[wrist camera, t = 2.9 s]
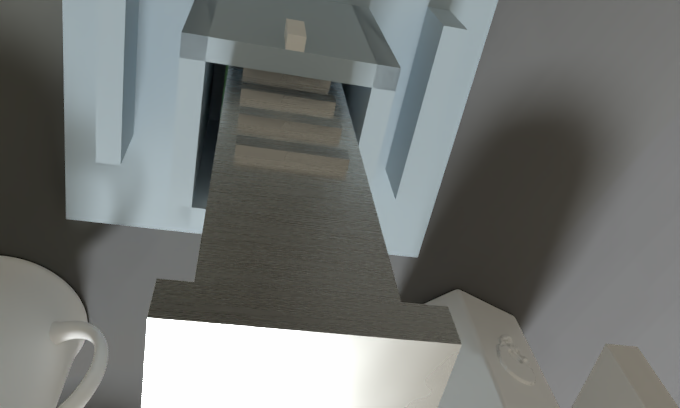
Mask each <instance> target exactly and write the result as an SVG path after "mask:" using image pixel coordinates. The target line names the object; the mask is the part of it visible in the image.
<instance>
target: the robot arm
mask: <svg viewBox="0 0 680 408" xmlns="http://www.w3.org/2000/svg"><path fill="white" fill-rule="evenodd" d="M572 408H679V407H678V406H677V404H676V403H675V401H674V400H673V398H672V397H671V396H670V394H669V393H668V391H667V390H666V388H665V387H664V385H663V384H662V382H661V381H660V379H659V378H658V376H657V375H656V374H655V372H654V371H653V369H652V368H651V366H650V365H649V363H648V362H647V360H646V359H645V357H644V356H643V354H642V353H641V351H640V350H639V349H638V347H633V346H623V345H613V344H605V346H604V348H603V350H602V352H601V354H600V356H599V358H598V359H597V361H596V363H595V365H594V367H593V369H592V371H591V372H590V374H589V376H588V378H587V380H586V382H585V384H584V385H583V387H582V389H581V391H580V393H579V395H578V397H577V399H576V400H575V402H574V404H573V406H572Z"/></svg>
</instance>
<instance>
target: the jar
mask: <svg viewBox="0 0 680 408" xmlns="http://www.w3.org/2000/svg"><path fill="white" fill-rule="evenodd" d="M424 304H427V305H438V306H448V308H449V311H450V313H451V316H452V319H453V322H454V324H455V327H456V330H457V332H458V335H459V338H460V341H461V343H462V346H461V348H460V351H459V353H458V356H457V359H456V361H455V364H454V366H453V369H452V372H451V374H450V377H449V379H448V382H447V385H446V387H445V390H444V392H443V395H442V398H441V400H440V403H439V405H438V408H560V407H559V405H558V403H557V401H556V399H555V397H554V395H553V393H552V391H551V389H550V387H549V385H548V383H547V381H546V379H545V377H544V375H543V373H542V371H541V369H540V367H539V365H538V363H537V361H536V359H535V356H534V354H533V352H532V350H531V348H530V346H529V344H528V342H527V340H526V338H525V336H524V334H523V332H522V330H521V328H520V326H519V324H518V322H517V320H516V318H515V317H514V316H513V315H511V314H509V313H507V312H504V311H502V310H500V309H498V308H496V307H494V306H492V305H490V304H488V303H486V302H484V301H482V300H480V299H478V298H476V297H474V296H472V295H470V294H468V293H466V292H464V291H462V290H459V289H455V290H453V291H451V292H449V293H446V294H444V295H442V296H440V297H438V298H435V299H433V300H431V301H429V302H427V303H424Z"/></svg>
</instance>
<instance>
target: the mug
mask: <svg viewBox="0 0 680 408" xmlns="http://www.w3.org/2000/svg"><path fill="white" fill-rule="evenodd" d="M85 339H87V340H89V341H91V342H92V343H93V344H94V347H95V352H94V357H93V361H92V363H91V366H90V368H89V370H88V372H87V374H86V375H85V377H84V378H83V380H82V381H81V383H80V384H79V385H78V387H77V388H76V389H75V390H74V392H73V393H72V394H71V395H70V396H69V397H68V398H67V399H66V400H65V401H64V402H63V403H62V404H61V405H60V406H59V407H58V408H83V407H84V406H85V405H86V403H87V402H88V401H89V399H90V398H91V397H92V395H93V394H94V392H95V391H96V389H97V387H98V386H99V384H100V382H101V380H102V378H103V375H104V373H105V370H106V367H107V363H108V345H107V341H106V339H105V337H104V335H103V334H102V332H101V331H100V330H99V329H98V328H97V327H96V326H94V325H92V324H90V323H88V320H87V314H86V311H85V308H84V306H83V304H82V302H81V300H80V298H79V297H78V295H77V294H76V292H75V291H74V290H73V289H72V288H71V287H70V286H69V285H68V284H67V283H66V282H65V281H64V280H63V279H61V278H60V277H59V276H57V275H56V274H54V273H53V272H51V271H50V270H48V269H46V268H44V267H42V266H40V265H37V264H35V263H32V262H30V261H26V260H23V259H19V258H15V257H9V256H1V255H0V408H56V406H57V403H58V400H59V398H60V395H61V392H62V389H63V386H64V384H65V381H66V378H67V375H68V373H69V370H70V367H71V365H72V362H73V360H74V358H75V356H76V355H77V354H78V352H79V351H80V349H81V348H82V346H83V344H84V342H85Z"/></svg>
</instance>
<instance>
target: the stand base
mask: <svg viewBox="0 0 680 408" xmlns="http://www.w3.org/2000/svg"><path fill="white" fill-rule="evenodd" d="M497 2H498V0H62V3H63V64H64V126H65V187H66V219H70V220H80V221H89V222H98V223H107V224H116V225H125V226H134V227H143V228H153V229H162V230H171V231H180V232H189V233H198V234H202V231H203V225H204V218H205V212H206V206H207V200H208V193H209V187H210V181H211V174H212V168H213V162H214V156H215V149H216V143H217V137H218V131H219V124H220V115H221V106H222V97H223V88H224V79H225V71H226V65H231V66H237V67H243V68H250V69H256V70H262V71H269V72H275V73H281V74H288V75H294V76H301V77H307V78H313V79H320V80H326V81H332V82H339V83H341V84H342V88H343V92H344V95H345V99H346V102H347V106H348V110H349V113H350V117H351V121H352V124H353V128H354V132H355V135H356V139H357V143H358V146H359V150H360V153H361V157H362V161H363V164H364V168H365V172H366V175H367V179H368V183H369V186H370V190H371V193H372V197H373V201H374V204H375V208H376V212H377V215H378V219H379V223H380V226H381V230H382V233H383V237H384V241H385V244H386V248H387V252H388V254H390V255H399V256H408V257H417V258H418V255H419V252H420V248H421V245H422V242H423V239H424V236H425V232H426V229H427V226H428V223H429V220H430V216H431V213H432V210H433V207H434V204H435V200H436V197H437V194H438V191H439V188H440V185H441V181H442V178H443V175H444V172H445V169H446V165H447V162H448V159H449V156H450V153H451V149H452V146H453V143H454V140H455V137H456V133H457V130H458V127H459V124H460V121H461V117H462V114H463V111H464V108H465V105H466V101H467V98H468V95H469V92H470V89H471V85H472V82H473V79H474V76H475V73H476V69H477V66H478V63H479V60H480V57H481V53H482V50H483V47H484V44H485V41H486V38H487V34H488V31H489V28H490V25H491V22H492V18H493V15H494V12H495V9H496V6H497Z"/></svg>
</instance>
